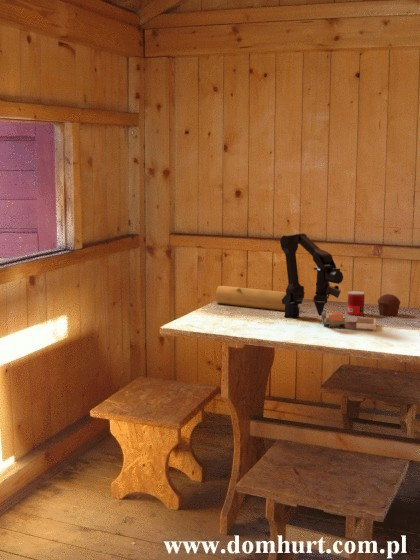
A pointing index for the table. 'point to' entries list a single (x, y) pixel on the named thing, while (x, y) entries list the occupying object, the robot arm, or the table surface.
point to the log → (250, 297)
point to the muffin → (388, 305)
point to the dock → (357, 324)
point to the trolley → (333, 318)
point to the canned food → (355, 303)
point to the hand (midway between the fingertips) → (320, 313)
